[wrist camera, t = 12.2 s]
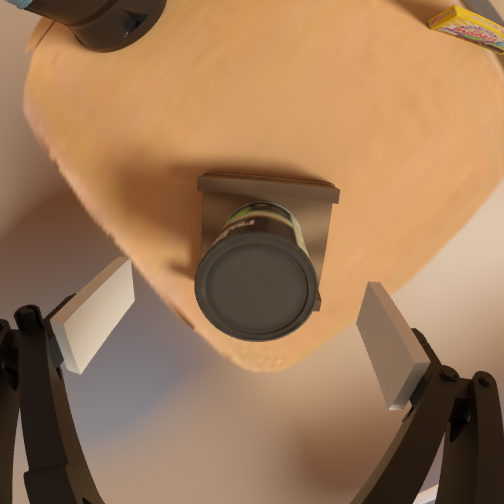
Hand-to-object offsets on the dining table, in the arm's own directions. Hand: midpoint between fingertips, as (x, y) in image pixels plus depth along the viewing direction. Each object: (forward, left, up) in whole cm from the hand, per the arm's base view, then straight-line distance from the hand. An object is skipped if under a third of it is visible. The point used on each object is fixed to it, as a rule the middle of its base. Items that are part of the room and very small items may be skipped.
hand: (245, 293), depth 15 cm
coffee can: (+4, 0, -22) cm, 22 cm away
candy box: (-33, +30, -24) cm, 51 cm away
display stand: (+4, +1, -24) cm, 24 cm away
